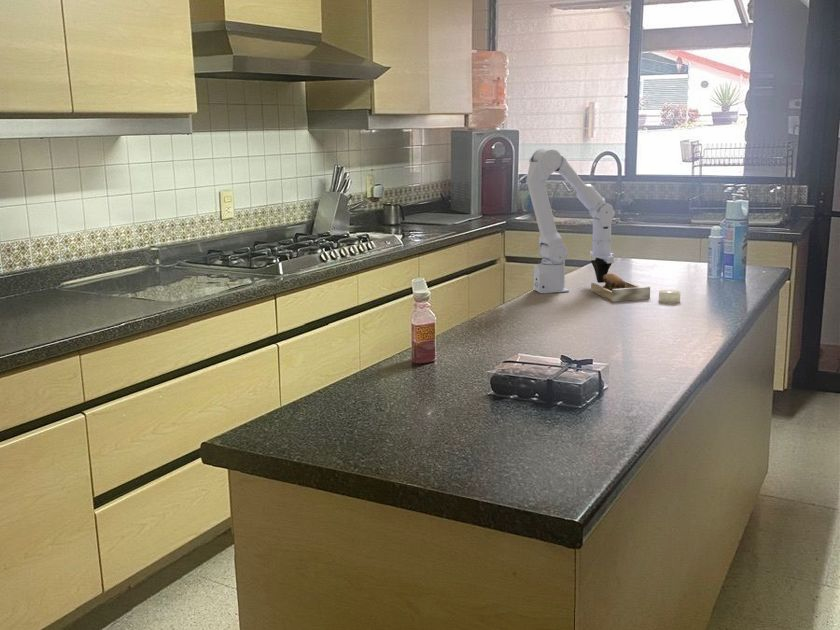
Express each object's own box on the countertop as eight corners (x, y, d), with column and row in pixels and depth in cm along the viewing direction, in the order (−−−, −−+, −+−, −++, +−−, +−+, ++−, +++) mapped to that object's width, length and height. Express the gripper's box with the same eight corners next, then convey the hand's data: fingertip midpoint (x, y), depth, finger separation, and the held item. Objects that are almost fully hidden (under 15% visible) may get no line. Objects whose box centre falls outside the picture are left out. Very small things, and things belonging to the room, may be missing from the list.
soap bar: (664, 304, 246) (664, 294, 245) (655, 300, 251) (655, 290, 251) (683, 302, 247) (684, 292, 246) (674, 299, 252) (674, 289, 252)
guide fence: (613, 301, 251) (613, 289, 250) (591, 291, 267) (591, 280, 267) (649, 298, 253) (650, 287, 252) (625, 288, 269) (626, 277, 269)
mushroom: (593, 283, 263) (605, 266, 262) (599, 288, 270) (611, 272, 269) (613, 297, 259) (626, 281, 258) (619, 302, 266) (631, 286, 265)
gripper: (623, 242, 265) (622, 285, 268) (604, 236, 279) (603, 277, 281) (601, 243, 263) (601, 286, 266) (584, 238, 277) (583, 279, 280)
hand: (601, 282), depth 274 cm, fingers closed
